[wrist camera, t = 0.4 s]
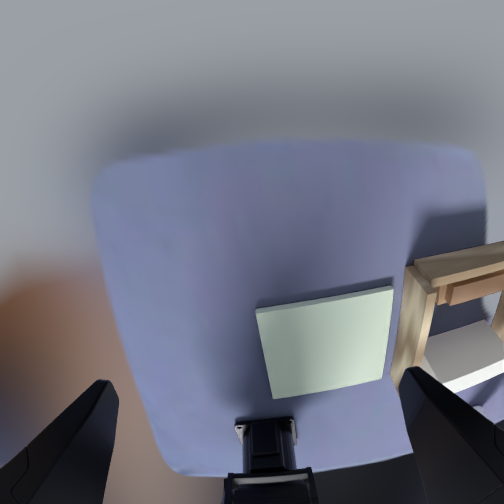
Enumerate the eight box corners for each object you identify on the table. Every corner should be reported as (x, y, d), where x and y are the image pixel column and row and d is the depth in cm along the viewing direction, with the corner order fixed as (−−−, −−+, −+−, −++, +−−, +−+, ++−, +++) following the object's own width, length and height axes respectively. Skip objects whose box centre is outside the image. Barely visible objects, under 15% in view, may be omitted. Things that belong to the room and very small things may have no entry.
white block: (478, 335, 28) (504, 371, 23) (411, 356, 29) (434, 400, 23) (484, 318, 27) (512, 354, 22) (415, 340, 27) (440, 384, 22)
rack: (489, 342, 29) (505, 364, 25) (389, 374, 29) (402, 403, 26) (519, 237, 23) (544, 256, 19) (405, 261, 23) (428, 288, 20)
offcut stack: (494, 272, 25) (511, 288, 22) (426, 292, 25) (441, 312, 22) (498, 250, 23) (516, 265, 21) (428, 269, 24) (445, 288, 21)
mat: (379, 374, 29) (381, 378, 29) (272, 394, 30) (273, 399, 29) (390, 285, 24) (393, 289, 24) (255, 308, 25) (255, 313, 24)
